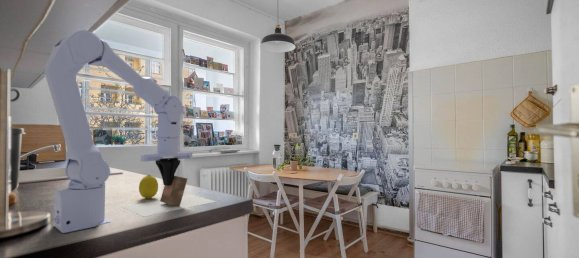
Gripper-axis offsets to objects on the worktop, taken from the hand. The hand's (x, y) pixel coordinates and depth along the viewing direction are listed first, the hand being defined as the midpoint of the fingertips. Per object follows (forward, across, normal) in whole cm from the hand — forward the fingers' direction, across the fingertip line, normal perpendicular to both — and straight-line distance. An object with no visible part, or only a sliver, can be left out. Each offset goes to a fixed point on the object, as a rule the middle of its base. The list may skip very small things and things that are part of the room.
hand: (167, 185), depth 86 cm
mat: (+6, -2, -1) cm, 7 cm away
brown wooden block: (+6, -1, 0) cm, 6 cm away
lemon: (+7, 0, -13) cm, 14 cm away
